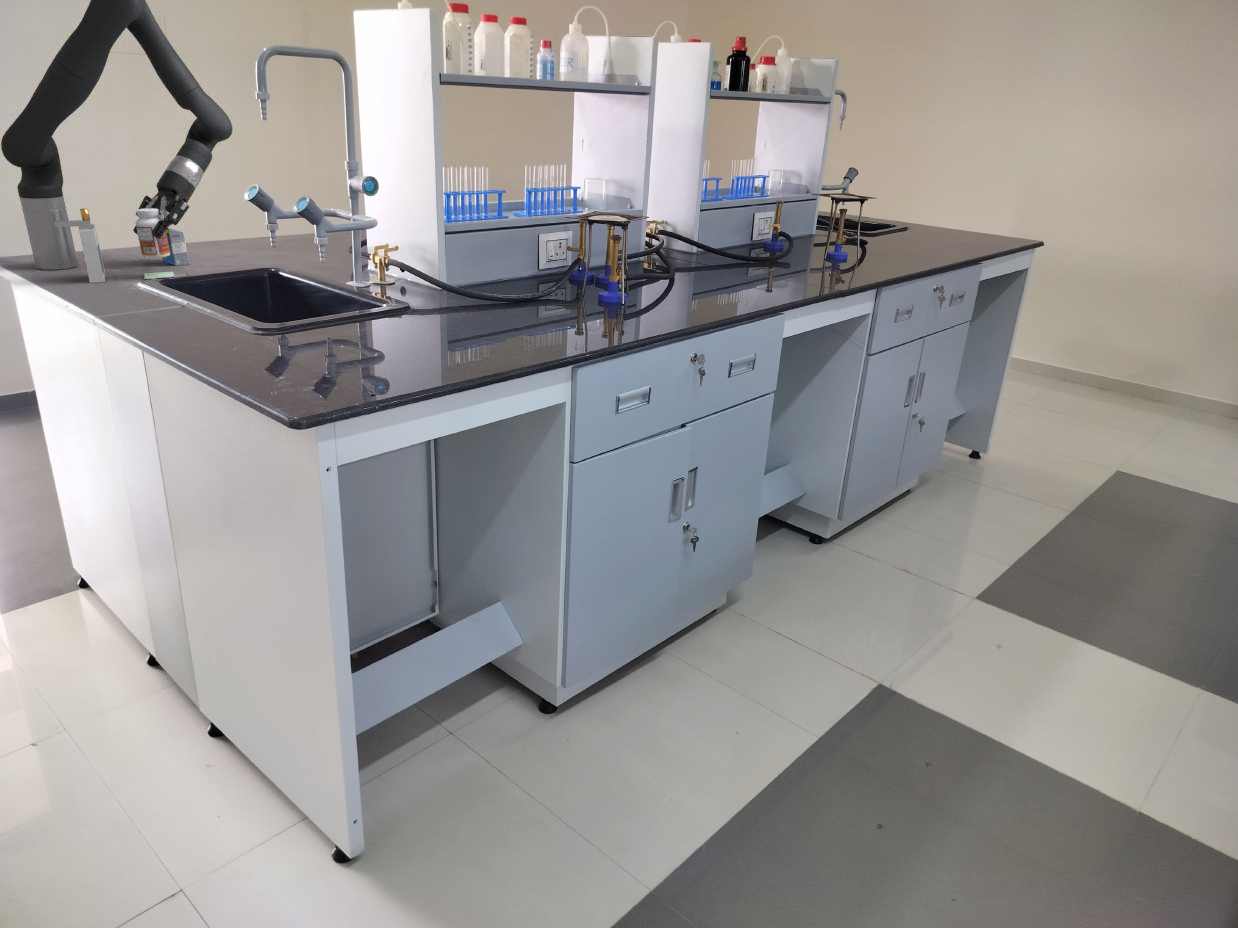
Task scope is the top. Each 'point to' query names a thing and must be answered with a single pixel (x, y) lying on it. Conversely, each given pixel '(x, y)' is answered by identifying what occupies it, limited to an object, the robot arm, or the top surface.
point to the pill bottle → (149, 242)
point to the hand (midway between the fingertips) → (146, 235)
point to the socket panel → (92, 253)
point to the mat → (158, 275)
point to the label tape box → (176, 248)
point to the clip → (83, 222)
